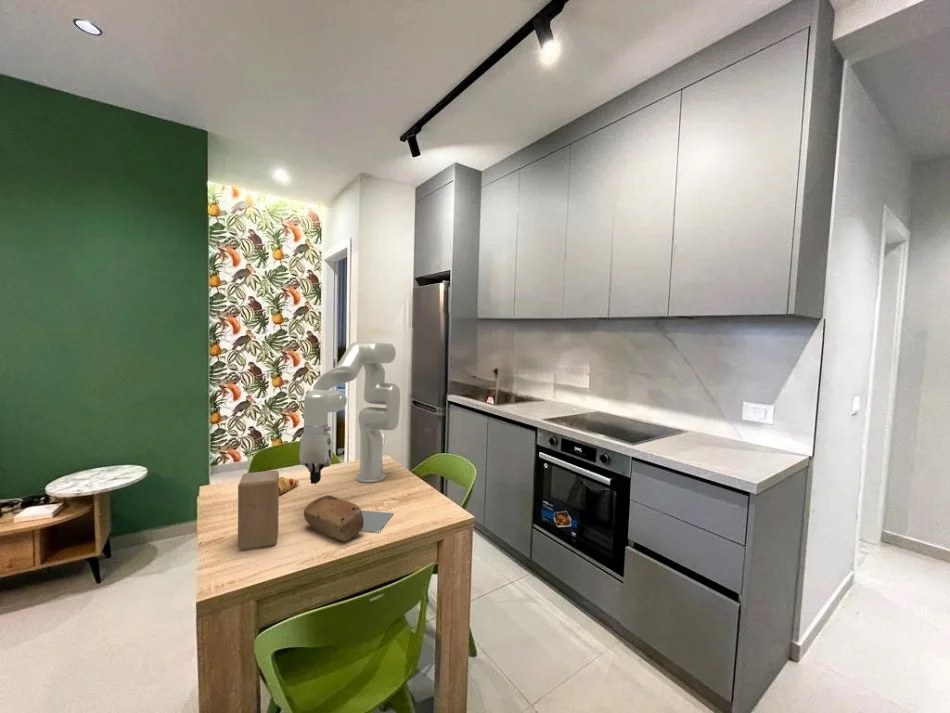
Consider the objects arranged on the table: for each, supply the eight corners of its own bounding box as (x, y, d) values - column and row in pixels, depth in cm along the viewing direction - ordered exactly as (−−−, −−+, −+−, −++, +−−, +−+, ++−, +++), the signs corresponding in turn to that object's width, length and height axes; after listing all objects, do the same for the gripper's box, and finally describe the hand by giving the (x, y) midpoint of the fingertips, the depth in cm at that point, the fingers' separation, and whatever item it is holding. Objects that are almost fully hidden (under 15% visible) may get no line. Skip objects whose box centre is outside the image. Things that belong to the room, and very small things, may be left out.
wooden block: (237, 552, 112) (237, 483, 111) (242, 536, 121) (242, 472, 121) (276, 546, 116) (277, 479, 115) (278, 530, 125) (278, 469, 125)
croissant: (294, 492, 166) (289, 473, 168) (307, 485, 161) (302, 466, 163) (241, 508, 148) (237, 487, 150) (254, 501, 143) (249, 480, 145)
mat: (339, 509, 142) (339, 508, 142) (393, 514, 140) (393, 513, 140) (320, 527, 128) (320, 526, 128) (379, 533, 126) (379, 532, 126)
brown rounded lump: (304, 527, 129) (344, 546, 118) (299, 507, 127) (339, 525, 116) (332, 508, 137) (371, 524, 126) (327, 489, 135) (367, 504, 125)
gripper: (341, 428, 137) (341, 480, 138) (301, 426, 139) (301, 477, 140) (331, 433, 130) (330, 488, 131) (288, 430, 132) (288, 484, 132)
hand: (315, 482), depth 135 cm, fingers closed
